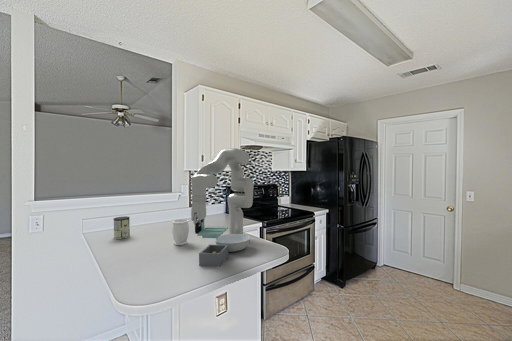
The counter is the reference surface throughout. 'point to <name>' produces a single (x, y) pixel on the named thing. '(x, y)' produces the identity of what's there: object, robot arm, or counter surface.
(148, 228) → the counter surface
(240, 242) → the serving bowl
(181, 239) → the jar
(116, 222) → the coffee can
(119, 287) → the counter surface
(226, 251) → the tub
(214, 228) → the lid
